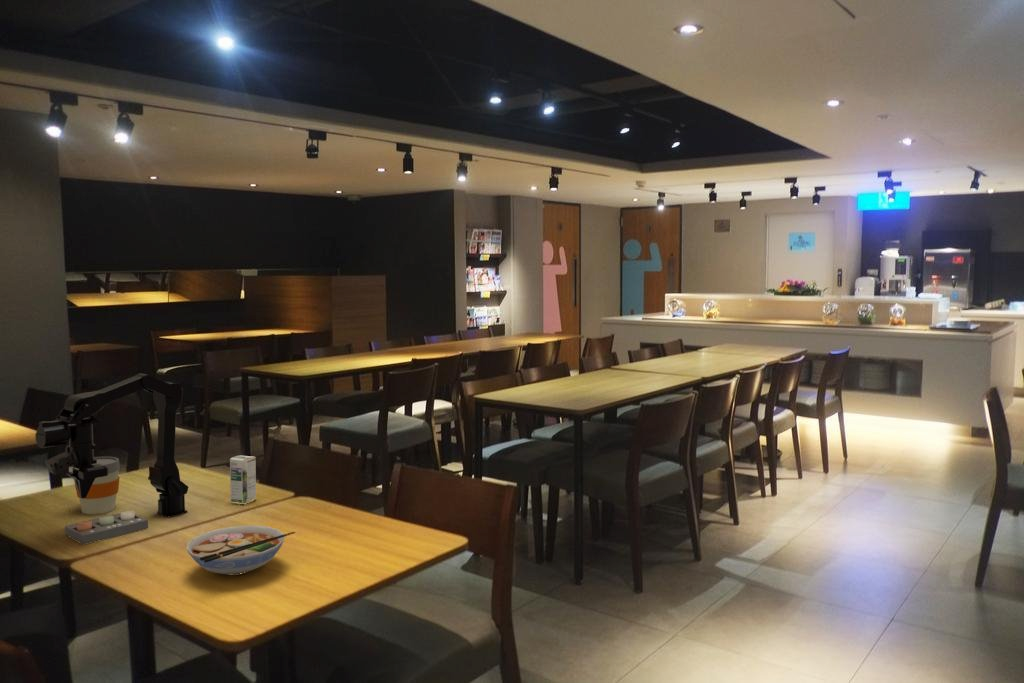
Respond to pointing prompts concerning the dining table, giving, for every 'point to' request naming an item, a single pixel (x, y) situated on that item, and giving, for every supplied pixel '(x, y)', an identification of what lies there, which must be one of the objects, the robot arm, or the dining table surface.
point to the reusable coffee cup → (102, 489)
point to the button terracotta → (84, 526)
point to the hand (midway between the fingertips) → (83, 498)
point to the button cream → (127, 515)
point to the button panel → (106, 529)
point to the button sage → (106, 520)
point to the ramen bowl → (236, 548)
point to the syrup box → (243, 478)
